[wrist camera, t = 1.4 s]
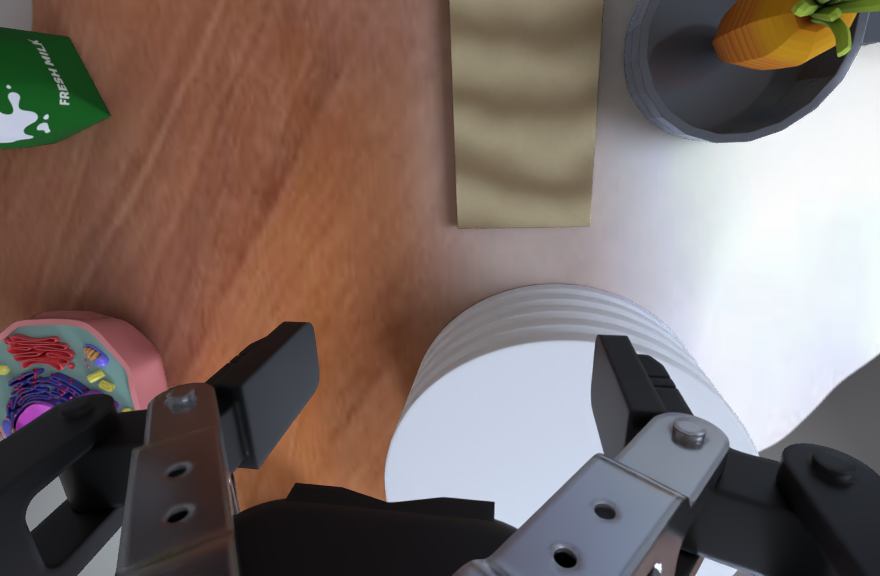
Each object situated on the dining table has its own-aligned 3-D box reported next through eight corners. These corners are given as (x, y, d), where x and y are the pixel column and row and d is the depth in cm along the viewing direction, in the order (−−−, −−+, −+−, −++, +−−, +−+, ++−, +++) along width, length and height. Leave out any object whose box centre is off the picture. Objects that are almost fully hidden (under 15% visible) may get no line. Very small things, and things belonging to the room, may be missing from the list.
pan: (632, -54, 32) (650, -80, 28) (844, -77, 30) (898, -109, 26) (617, 143, 37) (630, 146, 32) (801, 135, 35) (841, 137, 30)
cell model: (231, 355, 49) (154, 418, 39) (151, 457, 56) (68, 535, 46) (99, 250, 47) (-19, 287, 37) (34, 370, 54) (-82, 429, 44)
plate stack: (668, 243, 39) (728, 290, 28) (727, 502, 46) (792, 616, 35) (371, 329, 46) (328, 393, 35) (465, 541, 53) (452, 647, 43)
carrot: (776, 34, 32) (973, -32, 19) (719, 95, 34) (860, 78, 20) (723, -12, 32) (884, -115, 18) (669, 53, 34) (777, 5, 20)
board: (449, -41, 34) (447, -46, 33) (604, -58, 32) (607, -64, 31) (458, 225, 41) (457, 228, 40) (587, 223, 39) (590, 226, 38)
